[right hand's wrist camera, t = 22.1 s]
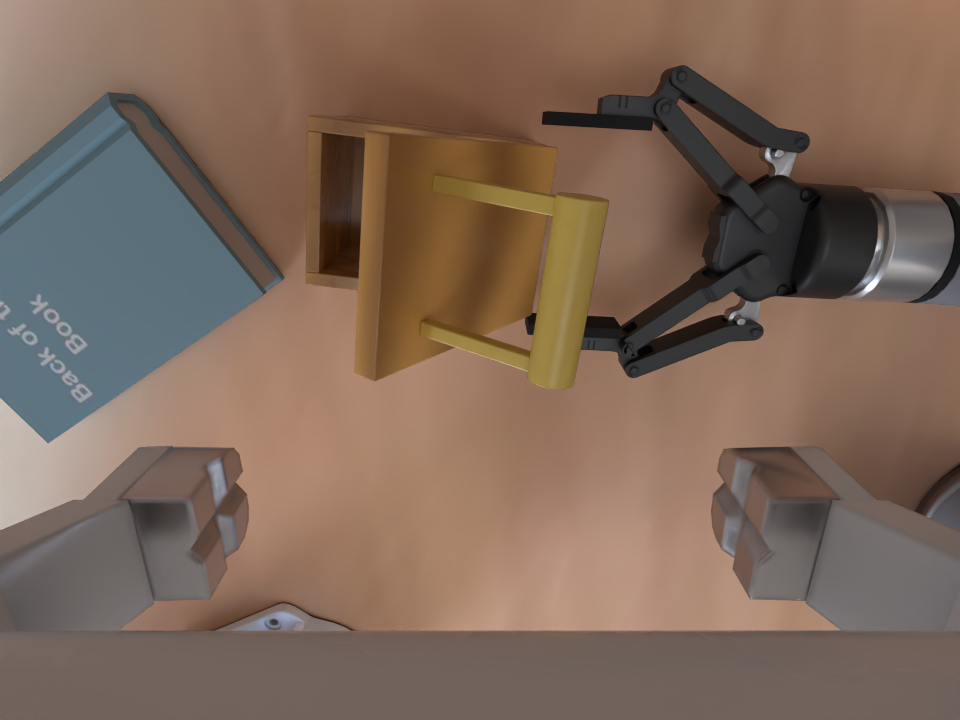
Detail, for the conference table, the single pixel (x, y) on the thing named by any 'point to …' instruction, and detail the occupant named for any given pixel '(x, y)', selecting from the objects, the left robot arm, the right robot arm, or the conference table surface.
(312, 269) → the chest
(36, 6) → the conference table surface
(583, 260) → the lid
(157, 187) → the book
